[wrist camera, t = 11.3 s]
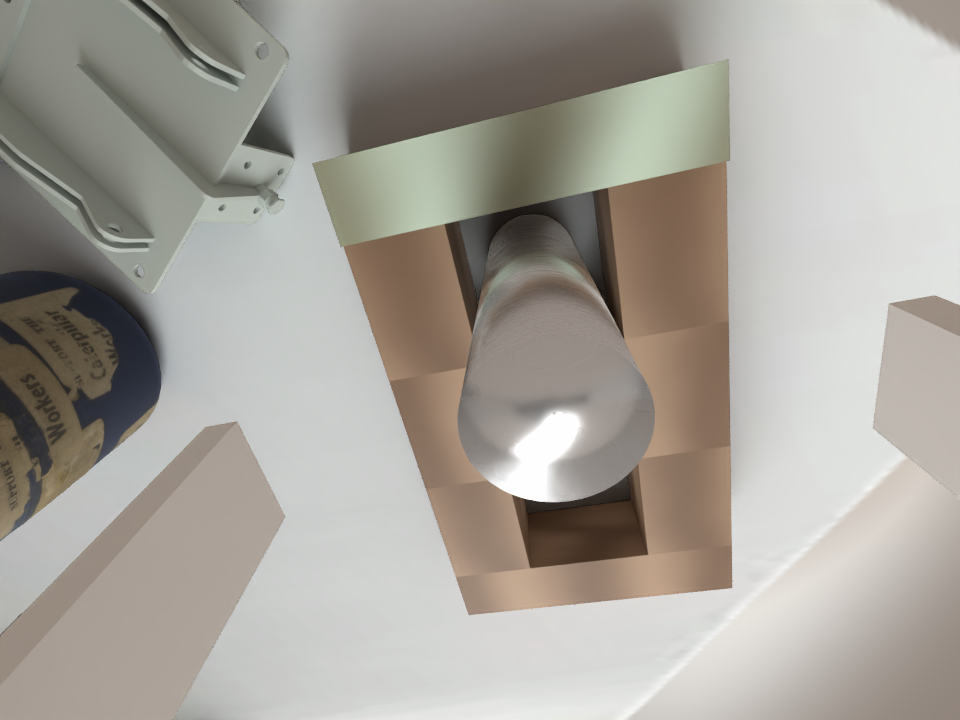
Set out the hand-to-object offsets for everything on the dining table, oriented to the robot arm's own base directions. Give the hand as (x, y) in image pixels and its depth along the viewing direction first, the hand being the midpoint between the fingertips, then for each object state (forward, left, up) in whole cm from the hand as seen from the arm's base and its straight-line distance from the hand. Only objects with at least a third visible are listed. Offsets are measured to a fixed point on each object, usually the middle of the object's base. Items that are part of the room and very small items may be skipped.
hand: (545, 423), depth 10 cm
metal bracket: (-14, +10, -14) cm, 23 cm away
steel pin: (0, 0, -14) cm, 14 cm away
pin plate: (0, -6, -14) cm, 15 cm away
